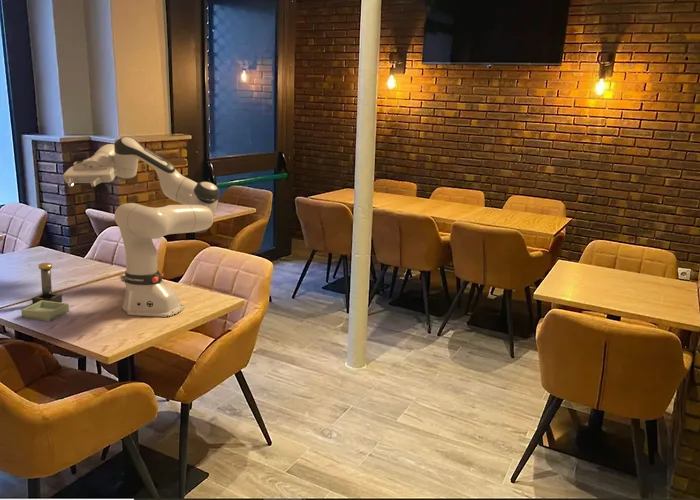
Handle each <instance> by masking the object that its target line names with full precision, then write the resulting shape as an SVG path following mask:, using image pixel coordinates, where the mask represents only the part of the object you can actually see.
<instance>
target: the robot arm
mask: <svg viewBox="0 0 700 500" xmlns="http://www.w3.org/2000/svg"><path fill="white" fill-rule="evenodd" d="M139 161H142V162H143V163H145V164H146V165H148V166H150V167H151V168H153V169H154V171H155V173H156V174H157V178H158V181H159V185H160V188H161V189H160V190H161V191H162V193H163V194H164V195H165V196H166V197H167V198H169V200H172V201H174V202H177V203H180V204H167V205H165V206H161V207H152V206H151V207H150V206H146V205H142V204H139V203H137V202H136V203H135V202H126V203H123V204H120V205H119V206H117V208H116V210H115V212H114V222H115V223H116V225H117V227H118V229H119V232H120V235H121V239H122V242H123V243H122V244H123V247H124V251H125V253H124V254H125V272H124V284H125V294H124V300H123V304H122V306H121V308H122V310H123V311H124V312H126V313H127V314H126V315H128V316H142V317H143V316H144V317H160V318H164V317H165V318H169V316H170V317H173V316H175V315H174V314H176V315H177V313H178V312H179V313H181V312H182V311H183V310H184V309H185V307H184V306H185V303H184V302H181V301H179V297H178V296H179V295H178V293H177V291H176V290H175V289H173V288H172V286H171V287H170V286H169V285H168V284H167V283H166V282H164V281H163V277H164V276H165V273H164V272H162V273H160V272H159V270H158V250H157V248H156V246H155V244H154V242H153V240H157V239H161V238H163V237H164V236H167V235H174V234H186V233H187V234H188V233H197V234H201V233H205V232H207V231H208V229H209V228H210V227H212V225H213V223H214V216H215V213H216V211H217V207H218V203H219V199H220V196H221V195H220V192H221V191H220V188H219V187H218V186H217V185H216V184H214V183H212V182H211V181H210V182H209V181H200V182H196V181H194V180H192V179H190V178H189V177H186V176H184V175H183V174H181V173H180V172H179V171H178V170H177V169H176V168H175V165H173V163H171V162H170V161H168V160H167V159H166V158H163V157H162V156H160V155H158V154H157V153H155V152H154V151H152V150H150V149H149V148H147V147H145V146H144V145H142V143H140V142H139V141H138V140H136V139H135V138H132V137H130V136H123V137H121V138H119V139H117V140H116V141H115V142H114V143H107V144H105V145H103V146H101V147H100V148H98V149H97V150H96V152H94V154H93V155H92V156H91V157H89V158H85V159H82V160H79V161H74V163H73V165H72V166H70V167H68V169H67V170H66V171H65V172H64V173H63V175H62V177H63V180H64V182H65V184H67V186H68V187H69V188H73V187H74V186H75V184H84V183H85V184H87V183H88V184H90V186H91V187H96V186H97V185H99V184H101V183H102V184H103V183H111V182H113V181H114V180H115V178H117V179H119V180H123V181H124V180H125V181H126V180H131V179H133V178H135V177H136V176H137V174H138V173H137V172H138V167H139ZM183 308H184V309H183ZM182 309H183V310H182ZM181 310H182V311H181ZM180 311H181V312H180ZM179 313H178V314H179ZM172 315H173V316H172ZM167 316H168V317H167Z"/></svg>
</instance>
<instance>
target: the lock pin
mask: <svg viewBox="0 0 700 500" xmlns="http://www.w3.org/2000/svg"><path fill="white" fill-rule="evenodd" d="M38 269H39V270H40V280H41V281H40V282H41V294H42V298H48V299H49V298H51V297H52V293H53V290H52V289H53V288H52V273H51V272H52V271H51V270H52V269H53V263H50V262H42V263H39V264H38Z"/></svg>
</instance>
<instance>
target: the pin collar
mask: <svg viewBox="0 0 700 500" xmlns="http://www.w3.org/2000/svg"><path fill="white" fill-rule="evenodd" d="M41 300H43V301H51V302H59V303H63V294H61V293H56V292H55V293H54V292H52V297H51V298H49V299H48V298H42V293H40V294H38V295H36V296H33V297H32V298H31V303H32V305H33V304H35V303H37V302H39V301H41Z"/></svg>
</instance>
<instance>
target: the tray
mask: <svg viewBox="0 0 700 500" xmlns="http://www.w3.org/2000/svg"><path fill="white" fill-rule="evenodd" d="M69 307H70V305H69V303H67V302H66V303H65V302H61V303H59V302H51V301H43V300H41V301H39V302H37V303H35V304H33V303H32V304H31V305H28V306H27V307H24V308H23V309H21V319H28V320H35V321H44V322H52V321H54V320H56V319H57V318H60V317H61V316H64V315H65V314H67V313H69V312H70V308H69Z"/></svg>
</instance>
